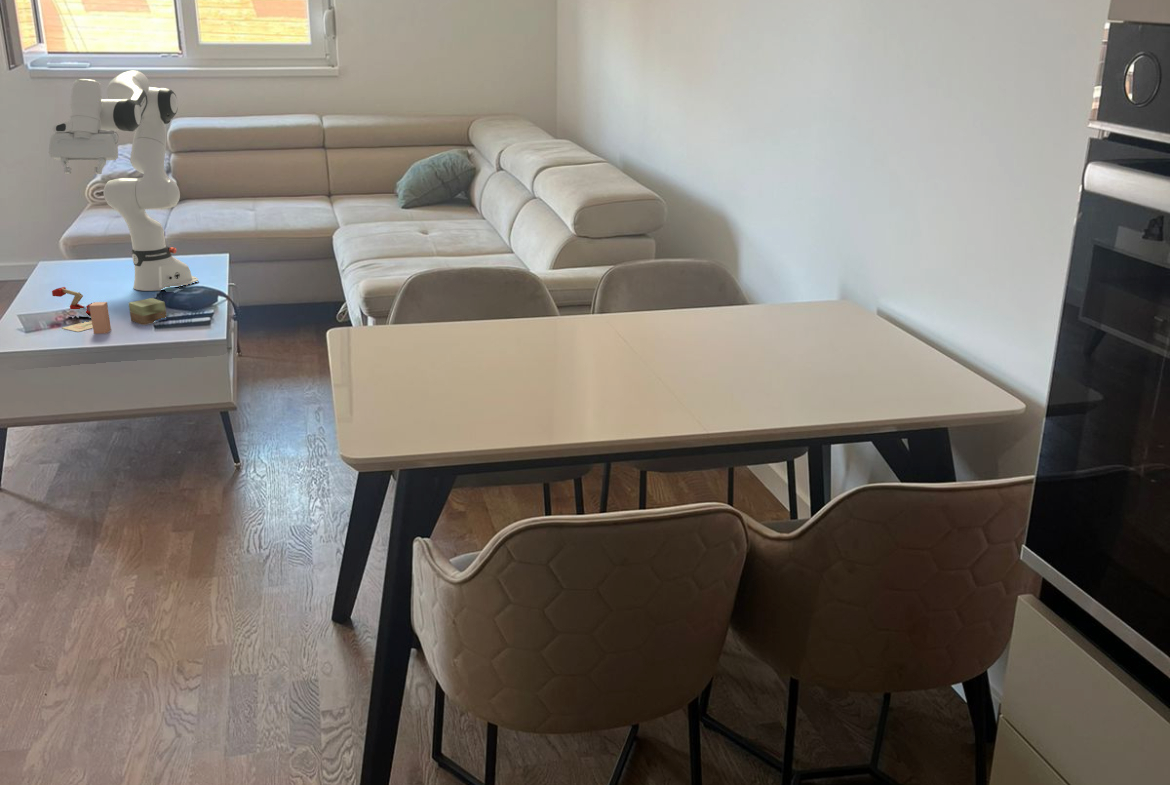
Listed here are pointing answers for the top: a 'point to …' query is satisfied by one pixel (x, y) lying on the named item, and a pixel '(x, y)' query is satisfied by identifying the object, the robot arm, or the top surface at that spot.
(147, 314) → the tower base
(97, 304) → the terracotta column block
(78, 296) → the toy fire truck
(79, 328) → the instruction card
